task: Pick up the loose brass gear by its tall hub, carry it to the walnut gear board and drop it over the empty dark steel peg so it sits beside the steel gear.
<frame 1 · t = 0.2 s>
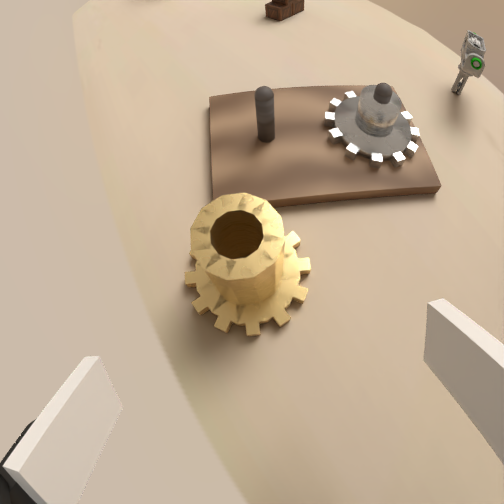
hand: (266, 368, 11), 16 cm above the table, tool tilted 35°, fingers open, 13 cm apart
brass gear: (247, 275, 29), on the table
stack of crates: (292, 17, 47), on the table
mechanical component: (455, 92, 37), on the table
gear board: (319, 140, 34), on the table
steel gear: (371, 129, 32), resting on gear board
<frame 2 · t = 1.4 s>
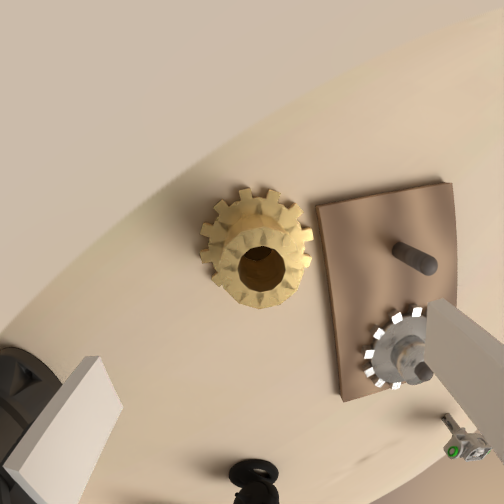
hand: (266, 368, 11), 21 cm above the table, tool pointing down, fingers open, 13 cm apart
brass gear: (256, 243, 32), on the table
mechanical component: (445, 416, 40), on the table
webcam: (253, 471, 40), on the table
gear board: (396, 297, 34), on the table
steel gear: (402, 346, 34), resting on gear board
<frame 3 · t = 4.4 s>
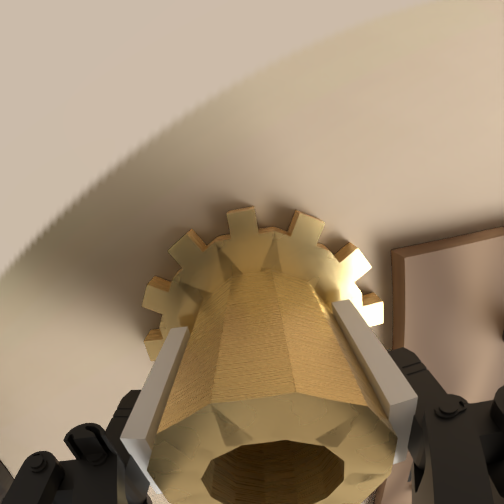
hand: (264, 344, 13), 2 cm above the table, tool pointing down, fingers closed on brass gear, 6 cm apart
brass gear: (263, 324, 15), on the table, touching gripper
gear board: (482, 391, 17), on the table
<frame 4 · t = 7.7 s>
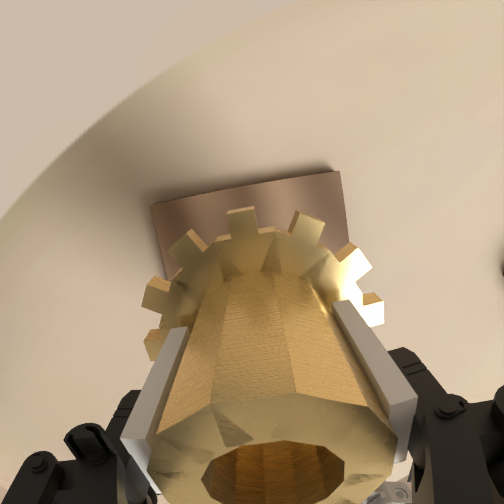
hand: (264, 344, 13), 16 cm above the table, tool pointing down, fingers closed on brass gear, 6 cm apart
brass gear: (263, 324, 15), point 14 cm above the table, touching gripper
mechanical component: (365, 454, 36), on the table
gear board: (267, 314, 30), on the table
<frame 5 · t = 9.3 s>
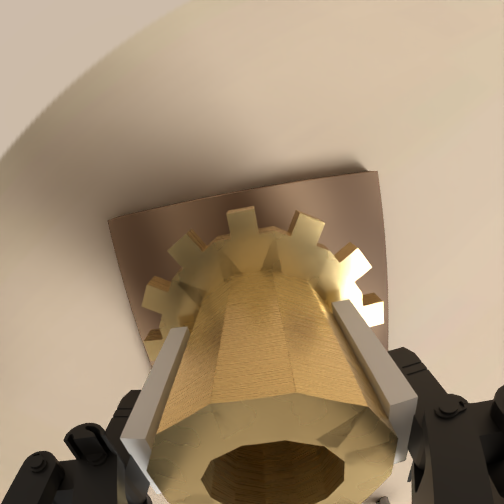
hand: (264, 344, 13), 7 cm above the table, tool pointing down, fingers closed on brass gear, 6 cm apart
brass gear: (263, 324, 15), point 5 cm above the table, touching gripper
mechanical component: (381, 498, 27), on the table
gear board: (272, 364, 22), on the table
when the fingers open (5 cm above the table, at t = 10.9 s): brass gear drops 1 cm, resting on gear board.
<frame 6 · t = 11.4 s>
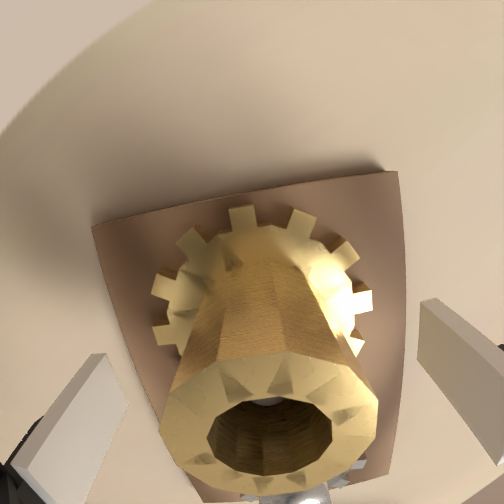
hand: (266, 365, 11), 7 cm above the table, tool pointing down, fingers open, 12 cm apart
brass gear: (261, 311, 16), point 1 cm above the table, touching gear board
gear board: (276, 384, 19), on the table
steel gear: (289, 456, 19), resting on gear board
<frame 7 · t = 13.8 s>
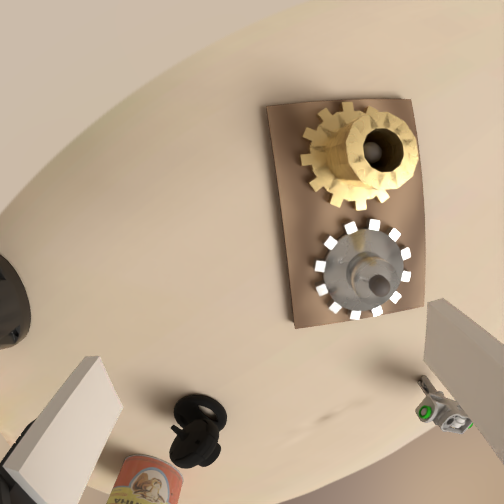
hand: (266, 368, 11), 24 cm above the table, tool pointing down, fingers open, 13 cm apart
brass gear: (352, 155, 31), point 1 cm above the table, touching gear board
mechanical component: (422, 379, 39), on the table
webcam: (201, 412, 41), on the table
gear board: (354, 211, 33), on the table
steel gear: (362, 268, 33), resting on gear board
canned food: (153, 472, 45), on the table
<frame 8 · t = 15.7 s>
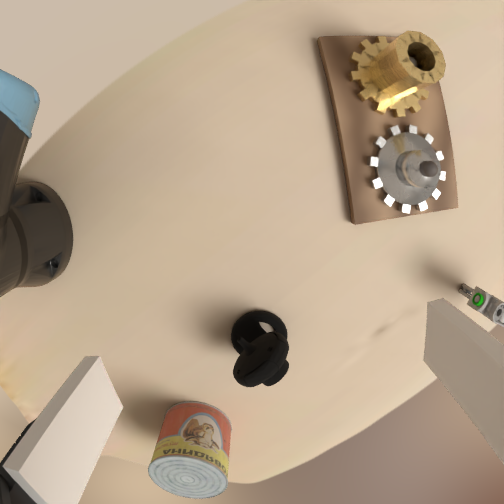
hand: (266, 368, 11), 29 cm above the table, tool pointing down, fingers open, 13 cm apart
brass gear: (388, 77, 33), point 1 cm above the table, touching gear board
mechanical component: (461, 288, 41), on the table
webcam: (259, 333, 43), on the table
gear board: (393, 123, 36), on the table
steel gear: (406, 168, 36), resting on gear board
canned food: (197, 424, 47), on the table
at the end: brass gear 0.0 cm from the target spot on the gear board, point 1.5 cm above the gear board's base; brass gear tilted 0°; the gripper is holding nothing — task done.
